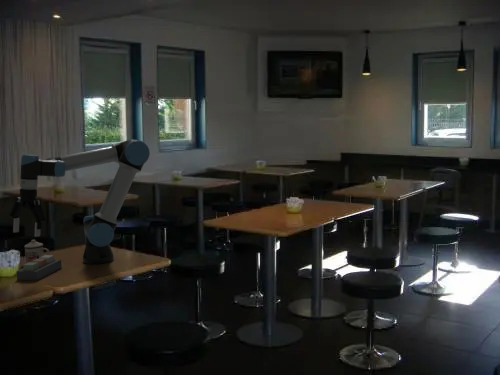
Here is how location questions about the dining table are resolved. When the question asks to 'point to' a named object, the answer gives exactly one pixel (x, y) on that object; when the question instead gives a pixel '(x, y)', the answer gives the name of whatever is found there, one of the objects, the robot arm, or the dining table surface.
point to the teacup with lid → (34, 251)
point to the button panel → (39, 271)
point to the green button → (31, 266)
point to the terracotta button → (41, 262)
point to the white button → (48, 258)
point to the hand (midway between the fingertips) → (26, 234)
